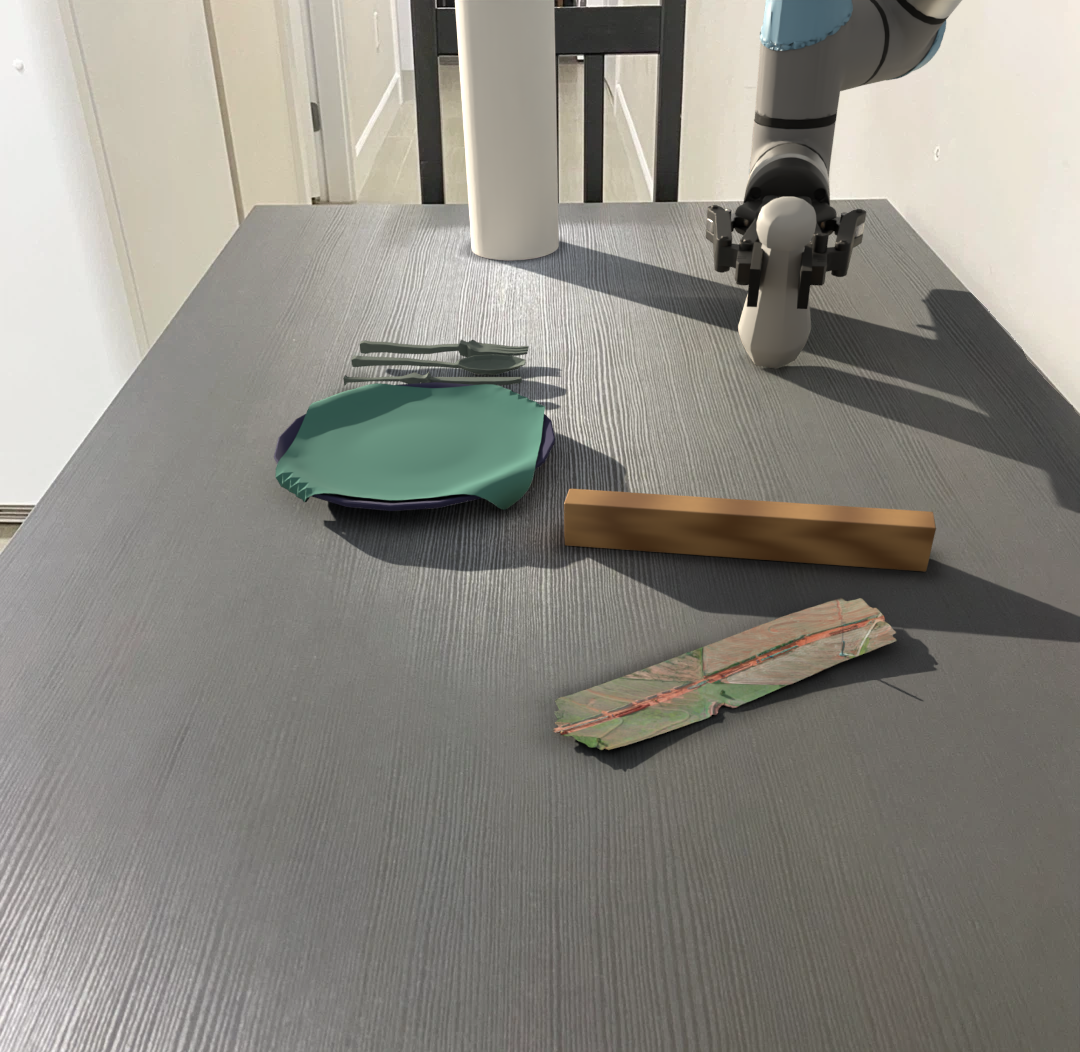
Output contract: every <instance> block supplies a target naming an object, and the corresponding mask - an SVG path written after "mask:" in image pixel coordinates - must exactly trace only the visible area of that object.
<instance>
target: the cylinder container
mask: <svg viewBox="0 0 1080 1052" xmlns="http://www.w3.org/2000/svg"><path fill="white" fill-rule="evenodd" d="M454 7H455V8H454V9H455V22H456V23H455V24H456V36H457V39H456V40H457V50H458V52H457V54H458V67H459V83H460V96H461V111H462V125H463V138H464V141H463V142H464V154H465V168H466V169H465V170H466V171H465V172H466V183H467V184H466V185H467V186H466V187H467V199H468V200H467V202H468V214H469V228H470V246H471V251H472V253H473V254H475V255H476V256H479V257H480V258H485V259H488V260H489V259H490V260H495V261H524V260H533V259H537V258H542V257H545V256H549V255H551V254H553V253H555V252H556V251H558V249H559V247H560V246H559V245H560V234H559V233H560V232H559V231H560V228H559V185H558V184H559V181H558V177H559V176H558V131H557V130H558V127H557V124H558V123H557V75H556V74H557V73H556V72H557V71H556V69H557V68H556V21H555V19H556V17H555V0H454Z"/></svg>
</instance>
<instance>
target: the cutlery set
mask: <svg viewBox="0 0 1080 1052" xmlns="http://www.w3.org/2000/svg"><path fill="white" fill-rule="evenodd" d="M529 347H530V346H529V345H521V346H519V345H518V346H517V345H515V346H513V345H506V344H505V345H504V344H497V343H485V342H484V343H483V342H478V341H476V340H475V339H470V340H469V341H466V340H463V339H460V340H459V342H458V343H441V344H432V345H431V344H430V345H429V344H427V345H426V344H410V343H399V342H398V343H397V342H391V341H371V340H367V339H365V340H361V341H360V342H359V353H360V354H364V355H353V356H352V358H351V359H350V360H351V361H350V362H351V367H352V368H361V367H363V368H364V367H377V366H380V367H381V366H382V367H384V366H387V367H388V366H390V367H391V366H411V367H412V366H414V367H425V368H426V367H427V368H428V367H429V368H430V367H431V368H449V369H461V370H464V371H466V372H468V373H471V374H473V375H478V376H432V375H431V372H430V371H428V372H427V373H426V374H420V373H418V372H410V373H407V374H405V375H401V376H397V375H396V376H395V375H393V376H391V375H390V376H387V375H386V376H377V377H362V376H361V377H359V376H347V375H346V374H345V375H344V376H343V379H342V380H343V385H344V387H345V386H346V385H347V384H350V383H365V382H366V383H367V382H377V383H370V384H365V385H362V386H359V387H355V388H352V389H348V390H344V391H342V392H339V393H336V394H333V395H331V396H328V397H325V398H323V399H320V400H317V401H314V402H311V403H310V405H309V406H308V407H307V409H306V412H305V413H304V414H302V415H301V416H299V417H297V418H296V419H294V420H293V421H292V423H291V424H290V425H289V426H288V427H287V428H286V429H284V431H283V432H282V433H281V434H280V435H279V436H278V438H277V442H276V446H275V450H274V454H273V459H274V462H275V464H276V467H275V480H277V483H278V484H279V486H280V487H281V488H283V489H285V490H287V491H288V492H289V493H291V494H294V495H295V497H296V498H298V499H300V500H301V501H302V502H303V503H307V502H308V500H309V499H310V497H312V498H315V499H319V500H322V501H326V502H328V503H332V504H336V505H339V506H343V507H345V508H354V509H365V510H375V511H386V512H398V511H415V510H431V509H432V510H433V509H441V508H446V507H451V506H455V505H459V504H464V503H469V502H472V501H477V500H481V499H484V500H486V501H487V502H489V503H492V505H494V506H496V507H497V508H498V509H500V510H503V511H505V510H507V509H508V508H511V507H512V506H514V504H516V503H517V502H519V500H521V499H522V498H523V497H524V496H525V494H526V493H527V492H528V491H529V490H530V487H531V485H532V483H533V479H534V475H535V472H536V471H537V470H538V469H539V468H541V467H542V466H543V465H544V464H545V463H546V462H547V460H548V458H549V456H550V454H551V452H552V450H553V448H554V447H555V444H556V435H555V430H554V426H553V422H552V419H551V418H550V417H549V416H548V415H546V413H545V412H546V411H545V410H546V405H544V404H541V403H539V402H537V401H535V400H533V399H530V398H529V397H527V396H524V395H521V394H520V393H518V392H515V391H512V389H510V388H506V387H504V386H511V385H515V384H516V385H517V384H521V383H522V382H523V377H522V376H495V375H500V374H505V373H507V372H511V371H515V370H519V369H520V368H522V367H523V366H525V365H526V362H527V359H525V358H522V357H519V356H524V355H525V356H526V355H528V352H529V349H530V348H529ZM449 352H458V354H459V356H462V357H464V358H460V359H458V360H457V361H455V362H448V361H441V360H432V359H431V360H430V359H418V358H413V357H411V358H410V357H396V356H395V357H390V356H368V355H369V354H371V353H372V354H377V353H378V354H380V353H381V354H382V353H389V354H400V355H433V354H440V353H449ZM366 354H368V355H366ZM379 382H380V383H379ZM381 382H400V383H402V384H391V383H381Z"/></svg>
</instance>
